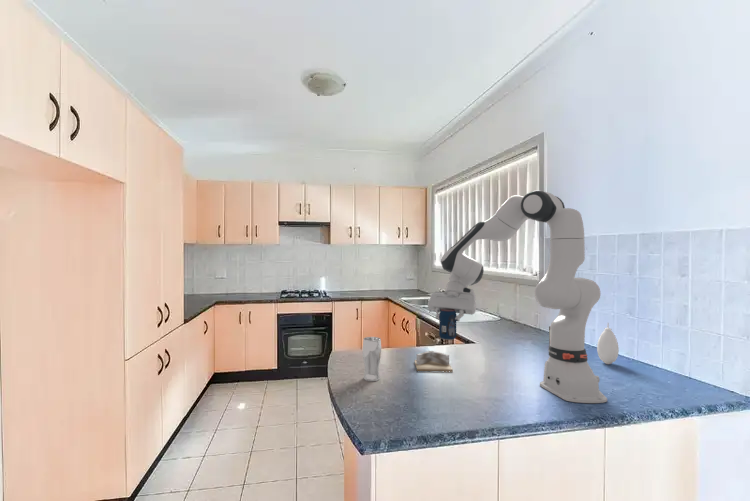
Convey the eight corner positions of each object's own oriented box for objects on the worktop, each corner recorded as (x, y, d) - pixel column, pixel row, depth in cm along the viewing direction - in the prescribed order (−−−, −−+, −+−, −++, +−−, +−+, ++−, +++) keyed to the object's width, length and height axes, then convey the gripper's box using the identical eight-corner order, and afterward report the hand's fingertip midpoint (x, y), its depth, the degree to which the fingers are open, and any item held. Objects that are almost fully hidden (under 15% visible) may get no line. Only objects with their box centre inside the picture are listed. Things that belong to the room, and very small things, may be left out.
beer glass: (358, 379, 143) (359, 339, 143) (367, 374, 149) (368, 335, 149) (375, 383, 140) (376, 341, 140) (384, 377, 146) (384, 337, 146)
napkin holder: (452, 372, 154) (452, 359, 154) (417, 371, 154) (417, 359, 154) (447, 362, 167) (447, 351, 167) (414, 362, 167) (414, 350, 167)
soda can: (444, 336, 165) (444, 308, 165) (459, 338, 161) (459, 309, 161) (436, 338, 160) (436, 309, 160) (451, 341, 155) (451, 311, 156)
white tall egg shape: (593, 362, 170) (593, 321, 170) (604, 360, 173) (605, 320, 173) (610, 367, 163) (611, 324, 163) (622, 365, 166) (622, 323, 166)
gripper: (430, 287, 171) (421, 312, 163) (476, 290, 161) (469, 317, 153) (434, 295, 175) (425, 321, 167) (479, 299, 165) (472, 326, 157)
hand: (447, 319), depth 160 cm, fingers closed on soda can, 7 cm apart
